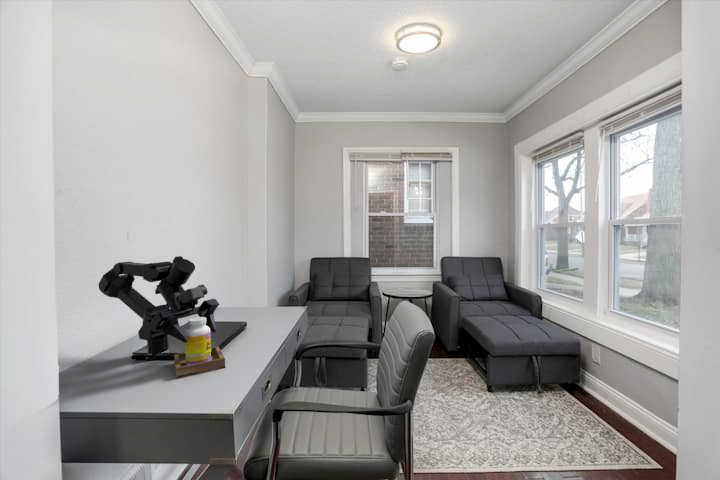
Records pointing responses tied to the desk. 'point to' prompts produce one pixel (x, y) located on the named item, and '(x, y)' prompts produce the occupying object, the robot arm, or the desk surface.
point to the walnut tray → (198, 364)
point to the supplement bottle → (198, 341)
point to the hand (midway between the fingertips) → (201, 336)
